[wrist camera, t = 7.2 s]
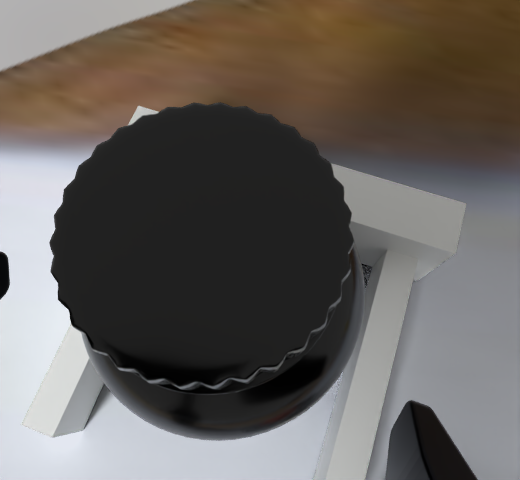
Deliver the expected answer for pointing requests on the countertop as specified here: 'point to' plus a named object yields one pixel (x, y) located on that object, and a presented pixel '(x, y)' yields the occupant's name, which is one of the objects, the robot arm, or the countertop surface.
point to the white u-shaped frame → (371, 334)
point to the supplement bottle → (210, 270)
